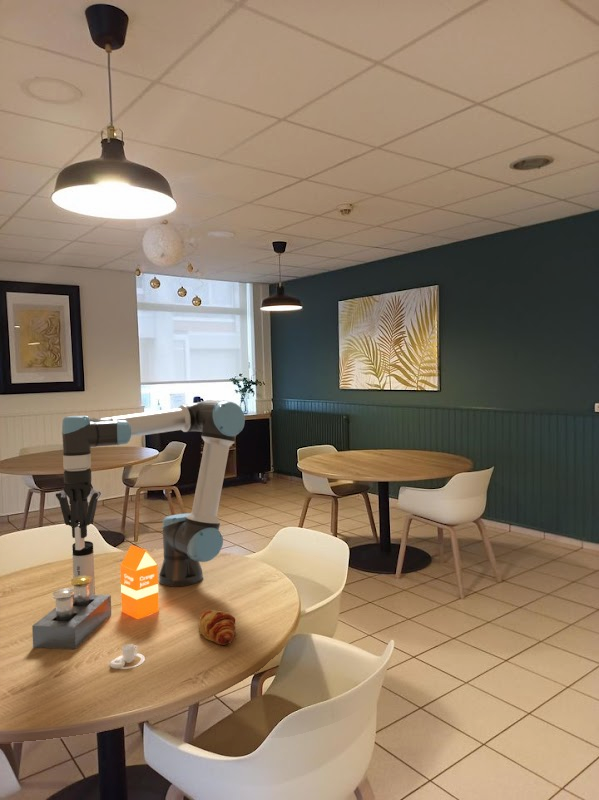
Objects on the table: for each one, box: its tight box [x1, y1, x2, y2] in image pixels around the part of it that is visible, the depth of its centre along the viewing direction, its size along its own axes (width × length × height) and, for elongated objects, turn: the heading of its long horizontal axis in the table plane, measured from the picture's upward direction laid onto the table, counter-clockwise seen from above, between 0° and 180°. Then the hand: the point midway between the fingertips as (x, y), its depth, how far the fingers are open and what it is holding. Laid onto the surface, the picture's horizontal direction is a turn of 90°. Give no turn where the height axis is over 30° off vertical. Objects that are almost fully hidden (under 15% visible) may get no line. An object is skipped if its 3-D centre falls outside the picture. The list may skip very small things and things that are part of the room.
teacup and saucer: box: [109, 643, 146, 670], centre depth 145 cm, size 9×8×4 cm
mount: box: [31, 594, 112, 650], centre depth 164 cm, size 12×22×6 cm, turn 174°
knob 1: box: [52, 587, 75, 621], centre depth 158 cm, size 6×6×8 cm
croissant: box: [198, 609, 236, 646], centre depth 160 cm, size 21×10×8 cm, turn 26°
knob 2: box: [70, 576, 92, 606], centre depth 168 cm, size 6×6×8 cm
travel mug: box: [71, 540, 96, 595], centre depth 182 cm, size 6×7×20 cm
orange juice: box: [119, 544, 160, 620], centre depth 176 cm, size 8×9×20 cm
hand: (80, 548), depth 168 cm, fingers closed
